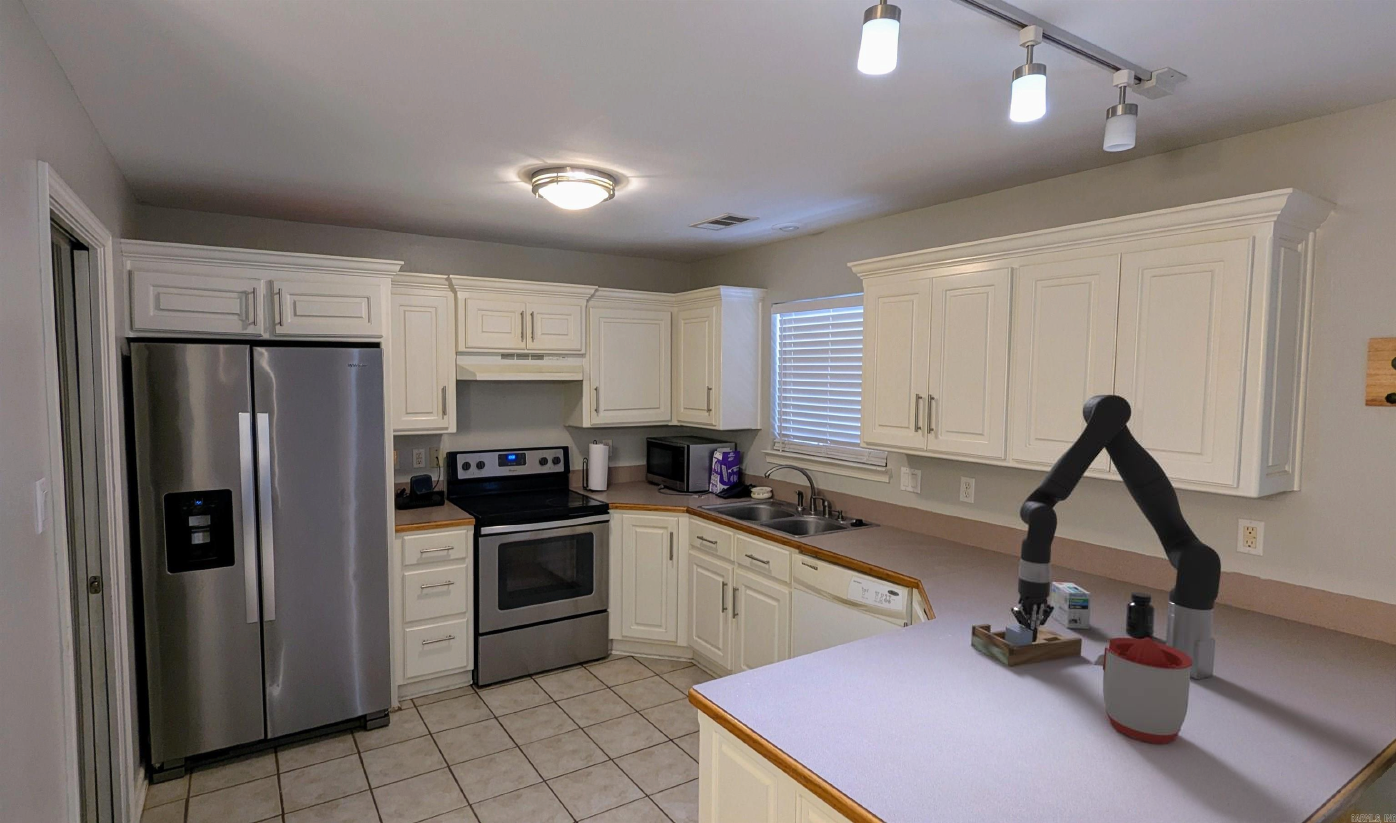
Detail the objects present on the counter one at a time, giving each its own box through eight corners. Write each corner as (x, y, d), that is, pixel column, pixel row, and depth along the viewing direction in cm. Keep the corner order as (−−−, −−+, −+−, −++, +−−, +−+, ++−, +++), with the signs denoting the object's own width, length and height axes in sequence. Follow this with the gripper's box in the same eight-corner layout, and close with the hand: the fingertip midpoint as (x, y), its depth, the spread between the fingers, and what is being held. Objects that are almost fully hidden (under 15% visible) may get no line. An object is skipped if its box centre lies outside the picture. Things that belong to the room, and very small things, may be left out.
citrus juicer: (1097, 702, 159) (1102, 616, 157) (1190, 728, 148) (1197, 636, 146) (1083, 728, 146) (1088, 635, 145) (1183, 759, 135) (1190, 659, 134)
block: (1031, 649, 180) (1032, 630, 180) (1018, 651, 179) (1019, 632, 178) (1018, 643, 184) (1019, 624, 184) (1004, 645, 183) (1005, 626, 182)
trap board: (1080, 654, 185) (1082, 634, 185) (1010, 666, 177) (1011, 645, 176) (1038, 635, 198) (1039, 616, 198) (971, 645, 190) (972, 625, 189)
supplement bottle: (1145, 631, 204) (1147, 591, 203) (1158, 640, 197) (1161, 598, 196) (1120, 629, 204) (1123, 589, 203) (1132, 638, 197) (1135, 597, 197)
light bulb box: (1090, 629, 204) (1092, 593, 204) (1066, 628, 204) (1069, 592, 204) (1071, 616, 215) (1073, 582, 214) (1049, 615, 215) (1051, 581, 214)
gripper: (1026, 583, 177) (1022, 649, 178) (1065, 579, 182) (1061, 643, 183) (1003, 574, 184) (1000, 638, 185) (1042, 570, 189) (1038, 633, 190)
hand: (1030, 641), depth 184 cm, fingers closed
